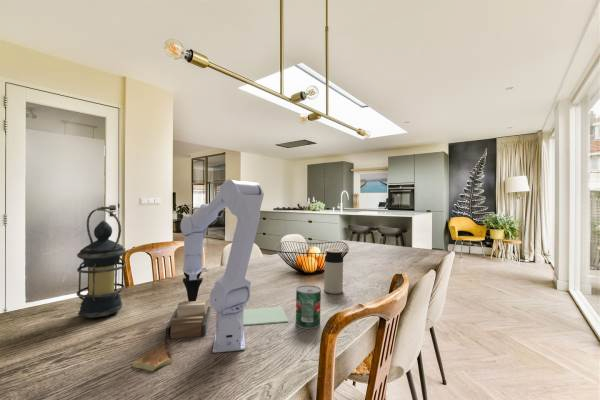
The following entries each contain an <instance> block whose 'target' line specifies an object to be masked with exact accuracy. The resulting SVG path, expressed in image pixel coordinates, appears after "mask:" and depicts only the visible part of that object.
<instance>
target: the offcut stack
mask: <svg viewBox="0 0 600 400" xmlns="http://www.w3.org/2000/svg"><path fill="white" fill-rule="evenodd" d="M171 318H172V317H171ZM202 334H203V316H197V317H182V318H172V322H171V335H170V339H177V338H179V339H180V338H189V337H190V338H191V337H200V336H202Z"/></svg>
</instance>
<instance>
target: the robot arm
mask: <svg viewBox="0 0 600 400" xmlns="http://www.w3.org/2000/svg"><path fill="white" fill-rule="evenodd" d="M264 196H265V193H264V192H263V189H262V187H261V185H260V184H259V183H258V182H257V181H243V180H233V179H230V178H229V179H225V181H224V182H223V183H222V184H221V185H220V186H219V191H218V193H217V194H216V196H215V197H213V199H212V200H211V201H210V202H209V203H202V204H201V205H199V208H197V210H195V211H194V212H193V214H191V215H189V216H188V215H185V216H183V218H182V219H181V221H180V230H181V234H183V236H184V237H183V263H182V264H183V268H182V272H183V275H184V278H182V282H183V284H184V286H185V290H186V295H187V301H189V302H191V301H196V300H198V299H197V298H198V293H199V290H200V289H199V288H200V287H201V284H202V282H203V280H204V278H203V277H201V275H202V273H203V271H206V270H207V266H203V265H204V261H203V260H204V258H203V257H204V240H205V238H206V233H207V231H208V227H209V225H210V224H212V223H214V222H215V221H216V220H217V218H218V216H219V215H218V214H219V213H220V212H221V211H222V210H223V209H225V208H226V207H227V208H228V210H229V212H230V213H231V215H234V216H235V217H236V219H237V222H236V226H235V229H234V233H233V238H232V241H231V242H232V243H231V246H230V250H229V254H228V258H227V262H226V263H227V264H226V266H225V271H224V273H223V274H222V275H221V276H220V277H219V278H218V279H217V280H216V281H215V283H214V286H213V287H212V289H211V290H210V294H209V303H210V307H211V308H212V309H213V310H214V312H216V313H215V314H216V317H215V318H216V321H215V325H216V326H215V334H214V341H213V347H212V353H224V352H225V353H226V352H235V351H243V350H245V349H246V344H245V343H246V342H245V341H246V339H245V331H244V326H243V314H244V309H245V308H246V306H247V302H248V301H249V300H250V299H251V285H252V281H251V280H250V279H249V277H248V276H246V274H247V271H248V266H249V262H250V259H251V255H252V251H253V247H254V243H255V240H256V236H257V232H258V227H259V223H260V220H261V208H262V205H263V204H262V203H263V200H264Z"/></svg>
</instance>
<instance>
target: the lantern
mask: <svg viewBox="0 0 600 400" xmlns="http://www.w3.org/2000/svg"><path fill="white" fill-rule="evenodd" d="M96 211H102V212H106V213H109V214H111V216H112V217H113V218H114V219H115V220H116V223H117V226H118V234H117V237H116V241H114V240H111V239H109V238H110V237H111V236H112V234H113V228H112V226H111V225H110V224H109V223H108V222H107V221H106V220H101V221H100V222H99V223H98V224H97V225H96V227H94V231H93V236H94V238H96V239H97V240H95V241H94V240H93V237H92V235H91V230H90V219H91V217H92V215H93V214H94V213H95V212H96ZM86 232H87V235H88V238H89V241H90V242H89V244H88V245H86V246H84V247H83V248H82V249H80V250H79V252H78V253H77V254H76V256H77V258H79V259H80V260H82V262H81V263H80V264H79V267H77V269H76V270H77V272H78V291H76V296H77V297H78V298H79V299H80V300H82V301H81V303H80V307H79V311H78V313H77V315H78V316H79V317H83V318H89V319H95V318H102V317H107V316H110V315H112V314H115V313H116V312H119V311H120V310H121V309H122V308H123V301H122V298H121V292H122V291H124V290H125V289H126V285H125V284H124V274H125V273H124V272H125V270H124V269H125V267H126V265H127V264H126V263H125V262H124V259H123V258H121V257H123V255H125V253H126V248H124V246H123V244H119V241H120V239H121V233H122V225H121V222H120V220H119V218H118V216H116V215H115V214H114V213H113V212H112V211H110V210H108V209H103V208H96V209H94V210H92V211H91V212H89V213H88V216H87V218H86ZM120 261H121V262H120ZM118 265H120V266H118ZM85 268H87V270H83V269H85ZM119 270H121V283H118V281H117V280H118V278H117V277H118V271H119ZM82 274H87V286H86V287H83V288H81V286H82V285H81V283H82V282H81V281H82ZM117 287H121V288H119V289H117ZM86 290H87V293H86V294H81V293H82V292H83V291H86Z"/></svg>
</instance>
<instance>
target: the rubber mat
mask: <svg viewBox="0 0 600 400" xmlns="http://www.w3.org/2000/svg"><path fill="white" fill-rule="evenodd" d="M283 323H289V319H288V317H287V314H286V312H285V310H284V308H283V306H275V307H259V308H244V314H243V327H246V326H256V325H269V324H283Z"/></svg>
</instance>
